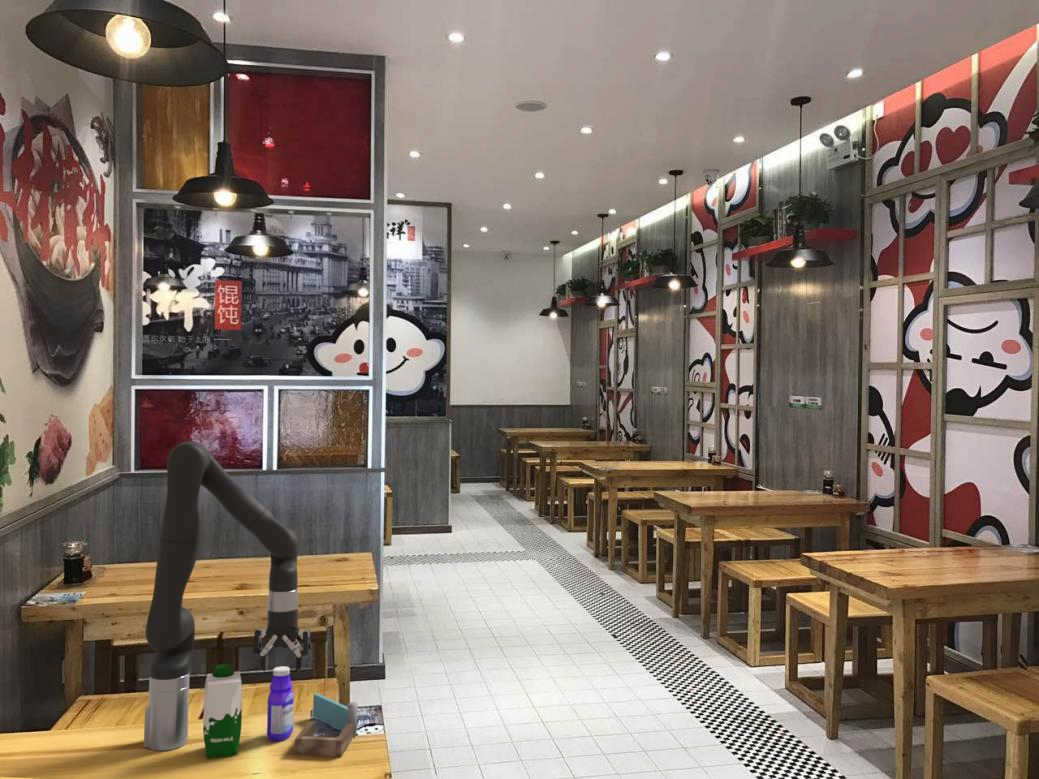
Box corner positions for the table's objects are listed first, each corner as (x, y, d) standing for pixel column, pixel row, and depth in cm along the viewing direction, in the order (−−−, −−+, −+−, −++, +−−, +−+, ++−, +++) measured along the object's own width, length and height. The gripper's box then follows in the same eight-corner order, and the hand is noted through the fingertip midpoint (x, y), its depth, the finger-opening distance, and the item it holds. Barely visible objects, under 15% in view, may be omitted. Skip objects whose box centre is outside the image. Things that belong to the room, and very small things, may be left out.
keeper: (311, 718, 222) (311, 688, 222) (318, 715, 224) (319, 686, 224) (350, 737, 210) (351, 706, 210) (358, 735, 211) (359, 704, 212)
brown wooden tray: (294, 755, 199) (295, 738, 199) (308, 736, 210) (309, 721, 210) (341, 757, 199) (341, 740, 199) (352, 738, 210) (353, 723, 210)
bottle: (283, 743, 206) (285, 673, 206) (262, 741, 207) (264, 671, 207) (296, 732, 213) (298, 665, 213) (276, 730, 214) (278, 663, 214)
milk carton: (239, 741, 206) (241, 661, 207) (241, 756, 198) (243, 673, 198) (202, 746, 203) (204, 665, 203) (202, 761, 195) (204, 676, 195)
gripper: (250, 609, 207) (249, 674, 207) (305, 611, 206) (304, 676, 206) (261, 602, 214) (260, 665, 214) (314, 604, 214) (313, 666, 213)
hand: (281, 670), depth 210 cm, fingers open, 8 cm apart
